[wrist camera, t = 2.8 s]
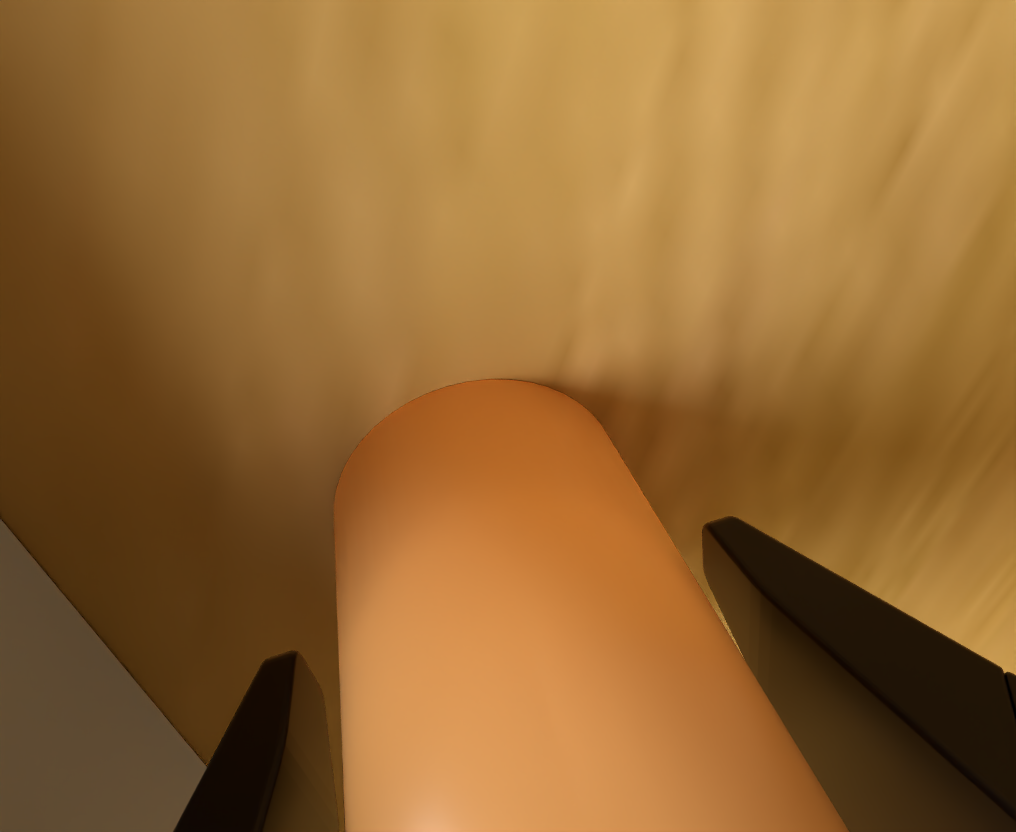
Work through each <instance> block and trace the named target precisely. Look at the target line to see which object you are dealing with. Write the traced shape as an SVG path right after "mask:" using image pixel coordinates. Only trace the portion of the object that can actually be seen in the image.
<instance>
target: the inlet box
mask: <svg viewBox="0 0 1016 832" xmlns="http://www.w3.org/2000/svg"><path fill="white" fill-rule="evenodd" d="M206 768H207V767H206V765H205V764H204V763H203V762H202V761H201V759H200V758H199V757H198V756H197V755H196V753H195V752H194V751H193V750H192V749H191V747H190V746H189V745H188V744H187V743H186V741H185V740H184V739H183V738H182V737H181V735H180V734H179V733H178V732H177V730H176V729H175V728H174V727H173V726H172V724H171V723H170V722H169V721H168V720H167V718H166V717H165V716H164V715H163V714H162V712H161V711H160V710H159V709H158V708H157V706H156V705H155V704H154V703H153V702H152V700H151V699H150V698H149V697H148V696H147V694H146V693H145V692H144V691H143V690H142V688H141V687H140V686H139V685H138V684H137V682H136V681H135V680H134V679H133V678H132V676H131V675H130V674H129V673H128V672H127V670H126V669H125V668H124V667H123V666H122V664H121V663H120V662H119V661H118V660H117V658H116V657H115V656H114V655H113V654H112V652H111V651H110V650H109V649H108V648H107V646H106V645H105V644H104V643H103V641H102V640H101V639H100V638H99V637H98V635H97V634H96V633H95V632H94V631H93V629H92V628H91V627H90V626H89V625H88V623H87V622H86V621H85V620H84V619H83V617H82V616H81V615H80V614H79V613H78V611H77V610H76V609H75V608H74V607H73V605H72V604H71V603H70V602H69V601H68V599H67V598H66V597H65V596H64V595H63V593H62V592H61V591H60V590H59V589H58V587H57V586H56V585H55V584H54V583H53V581H52V580H51V579H50V578H49V577H48V575H47V574H46V573H45V572H44V571H43V569H42V568H41V567H40V566H39V565H38V563H37V562H36V561H35V560H34V559H33V557H32V556H31V555H30V554H29V553H28V551H27V550H26V549H25V548H24V546H23V545H22V544H21V543H20V542H19V540H18V539H17V538H16V537H15V536H14V534H13V533H12V532H11V531H10V530H9V528H8V527H7V526H6V525H5V524H4V522H3V521H2V520H1V519H0V832H173V830H174V828H175V827H176V825H177V823H178V821H179V819H180V817H181V815H182V813H183V811H184V810H185V808H186V806H187V804H188V802H189V800H190V798H191V796H192V794H193V793H194V791H195V789H196V787H197V785H198V783H199V781H200V779H201V777H202V776H203V774H204V772H205V770H206Z"/></svg>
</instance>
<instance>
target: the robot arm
mask: <svg viewBox="0 0 1016 832" xmlns="http://www.w3.org/2000/svg"><path fill="white" fill-rule="evenodd" d="M702 547H703V568H704V573H705V576H706V579H707V582H708V584H709V586H710V588H711V590H712V592H713V595H714V597H715V599H716V601H717V603H718V605H719V607H720V609H721V611H722V613H723V615H724V618H725V620H726V622H727V624H728V626H729V628H730V630H731V632H732V634H733V636H734V638H735V640H736V643H737V645H738V647H739V649H740V651H741V653H742V655H743V657H744V659H745V661H746V663H747V665H748V666H749V668H750V670H751V671H752V673H753V675H754V676H755V678H756V680H757V681H758V683H759V684H760V686H761V688H762V689H763V691H764V693H765V694H766V696H767V698H768V699H769V701H770V703H771V704H772V706H773V707H774V709H775V711H776V712H777V714H778V716H779V717H780V719H781V721H782V722H783V724H784V725H785V727H786V729H787V730H788V732H789V734H790V735H791V737H792V739H793V740H794V742H795V744H796V745H797V747H798V748H799V750H800V752H801V753H802V755H803V757H804V758H805V760H806V762H807V763H808V765H809V766H810V768H811V770H812V771H813V773H814V775H815V776H816V778H817V780H818V781H819V783H820V785H821V786H822V788H823V789H824V791H825V793H826V794H827V796H828V798H829V799H830V801H831V803H832V804H833V806H834V808H835V809H836V811H837V812H838V814H839V816H840V817H841V819H842V821H843V822H844V824H845V826H846V827H847V829H848V830H849V832H1016V675H1014V674H1012V673H1011V672H1006V673H1004V672H1003V669H1002V668H1001V667H1000V666H998V665H996V664H994V663H993V662H991V661H989V660H987V659H985V658H984V657H982V656H980V655H978V654H977V653H975V652H973V651H971V650H970V649H968V648H966V647H964V646H963V645H961V644H959V643H957V642H956V641H954V640H952V639H950V638H948V637H947V636H945V635H943V634H941V633H940V632H938V631H936V630H934V629H933V628H931V627H929V626H927V625H926V624H924V623H922V622H920V621H918V620H917V619H915V618H913V617H911V616H910V615H908V614H906V613H904V612H903V611H901V610H899V609H897V608H896V607H894V606H892V605H890V604H889V603H887V602H885V601H883V600H881V599H880V598H878V597H876V596H874V595H873V594H871V593H869V592H867V591H866V590H864V589H862V588H860V587H859V586H857V585H855V584H853V583H851V582H850V581H848V580H846V579H844V578H843V577H841V576H839V575H837V574H836V573H834V572H832V571H830V570H829V569H827V568H825V567H823V566H822V565H820V564H818V563H816V562H814V561H813V560H811V559H809V558H807V557H806V556H804V555H802V554H800V553H799V552H797V551H795V550H793V549H792V548H790V547H788V546H786V545H784V544H783V543H781V542H779V541H777V540H776V539H774V538H772V537H770V536H769V535H767V534H765V533H763V532H762V531H760V530H758V529H756V528H755V527H753V526H751V525H749V524H747V523H746V522H744V521H742V520H740V519H739V518H736V517H733V516H728V517H724V518H721V519H718V520H715V521H711V522H708V523H706V524H705V525H704V526H703V529H702ZM173 832H339V822H338V812H337V802H336V794H335V786H334V777H333V769H332V761H331V752H330V744H329V736H328V727H327V719H326V711H325V703H324V698H323V694H322V691H321V688H320V686H319V684H318V683H317V681H316V679H315V677H314V676H313V674H312V672H311V670H310V669H309V667H308V665H307V663H306V662H305V660H304V658H303V657H302V655H301V654H300V653H299V652H298V651H289V652H286V653H283V654H279V655H276V656H273V657H270V658H268V659H266V660H265V661H264V662H263V663H262V664H261V666H260V668H259V670H258V672H257V674H256V675H255V677H254V679H253V681H252V683H251V685H250V687H249V689H248V691H247V692H246V694H245V696H244V698H243V700H242V702H241V704H240V706H239V708H238V709H237V711H236V713H235V715H234V717H233V719H232V721H231V723H230V725H229V726H228V728H227V730H226V732H225V734H224V736H223V738H222V740H221V742H220V743H219V745H218V747H217V749H216V751H215V753H214V755H213V757H212V759H211V760H210V762H209V764H208V766H207V768H206V770H205V772H204V774H203V776H202V777H201V779H200V781H199V783H198V785H197V787H196V789H195V791H194V793H193V794H192V796H191V798H190V800H189V802H188V804H187V806H186V808H185V810H184V811H183V813H182V815H181V817H180V819H179V821H178V823H177V825H176V827H175V828H174V830H173Z"/></svg>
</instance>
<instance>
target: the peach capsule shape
mask: <svg viewBox="0 0 1016 832" xmlns="http://www.w3.org/2000/svg"><path fill="white" fill-rule="evenodd" d="M334 535H335V564H336V593H337V622H338V650H339V679H340V708H341V737H342V765H343V794H344V823H345V832H849V830H848V829H847V827H846V826H845V824H844V822H843V821H842V819H841V817H840V816H839V814H838V812H837V811H836V809H835V808H834V806H833V804H832V803H831V801H830V799H829V798H828V796H827V794H826V793H825V791H824V789H823V788H822V786H821V785H820V783H819V781H818V780H817V778H816V776H815V775H814V773H813V771H812V770H811V768H810V766H809V765H808V763H807V762H806V760H805V758H804V757H803V755H802V753H801V752H800V750H799V748H798V747H797V745H796V744H795V742H794V740H793V739H792V737H791V735H790V734H789V732H788V730H787V729H786V727H785V725H784V724H783V722H782V721H781V719H780V717H779V716H778V714H777V712H776V711H775V709H774V707H773V706H772V704H771V703H770V701H769V699H768V698H767V696H766V694H765V693H764V691H763V689H762V688H761V686H760V684H759V683H758V681H757V680H756V678H755V676H754V675H753V673H752V671H751V670H750V668H749V666H748V665H747V663H746V661H745V660H744V658H743V657H742V655H741V653H740V652H739V650H738V648H737V647H736V645H735V643H734V642H733V640H732V639H731V637H730V635H729V634H728V632H727V630H726V629H725V627H724V625H723V624H722V622H721V620H720V619H719V617H718V616H717V614H716V612H715V611H714V609H713V607H712V606H711V604H710V602H709V601H708V599H707V598H706V596H705V594H704V593H703V591H702V589H701V588H700V586H699V584H698V583H697V581H696V579H695V578H694V576H693V575H692V573H691V571H690V570H689V568H688V566H687V565H686V563H685V561H684V560H683V558H682V557H681V555H680V553H679V552H678V550H677V548H676V547H675V545H674V543H673V542H672V540H671V538H670V537H669V535H668V534H667V532H666V530H665V529H664V527H663V525H662V524H661V522H660V520H659V519H658V517H657V515H656V514H655V512H654V511H653V509H652V507H651V506H650V504H649V502H648V501H647V499H646V497H645V496H644V494H643V493H642V491H641V489H640V488H639V486H638V484H637V483H636V481H635V479H634V478H633V476H632V474H631V473H630V471H629V470H628V468H627V466H626V465H625V463H624V461H623V460H622V458H621V456H620V455H619V453H618V452H617V450H616V448H615V447H614V445H613V443H612V442H611V440H610V438H609V437H608V435H607V433H606V432H605V430H604V429H603V427H602V425H601V424H600V423H599V421H598V420H597V419H596V418H595V417H594V416H593V415H592V413H591V412H589V411H588V410H587V409H586V408H585V407H583V406H582V405H581V404H580V403H579V402H577V401H575V400H574V399H572V398H570V397H569V396H567V395H565V394H563V393H561V392H559V391H556V390H554V389H551V388H549V387H546V386H542V385H538V384H535V383H531V382H525V381H517V380H502V379H489V380H479V381H470V382H465V383H460V384H456V385H452V386H447V387H445V388H442V389H439V390H436V391H433V392H430V393H427V394H425V395H423V396H421V397H419V398H417V399H415V400H413V401H411V402H409V403H407V404H405V405H404V406H402V407H401V408H399V409H397V410H396V411H394V412H393V413H391V414H390V415H389V416H387V417H386V418H385V419H384V420H382V421H381V422H380V423H379V424H377V425H376V426H375V427H374V428H373V429H372V430H371V431H370V432H369V433H368V434H367V435H366V436H365V437H364V438H363V439H362V441H361V442H360V443H359V445H358V446H357V447H356V449H355V450H354V452H353V453H352V454H351V456H350V458H349V460H348V461H347V463H346V465H345V467H344V469H343V471H342V474H341V476H340V479H339V482H338V485H337V489H336V494H335V500H334Z"/></svg>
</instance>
